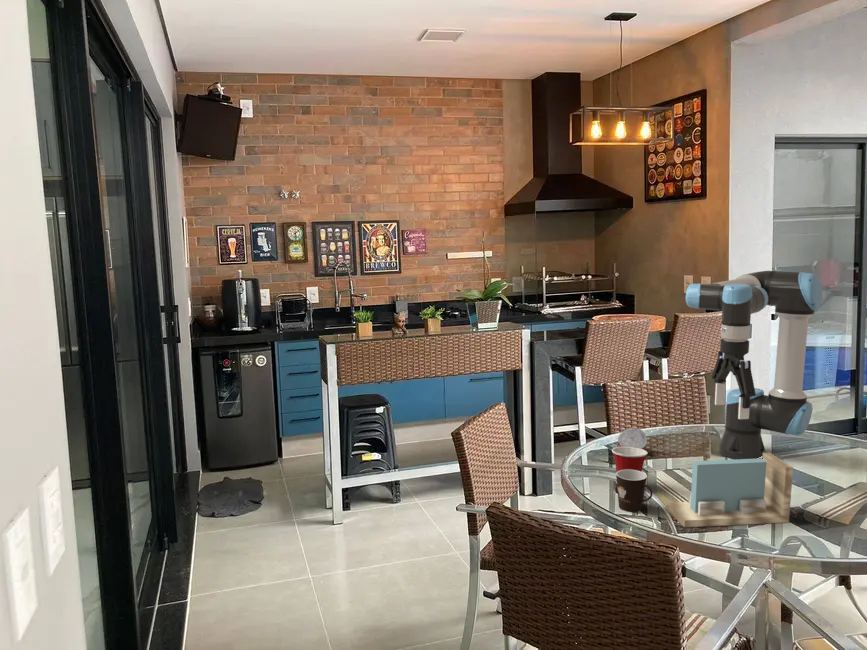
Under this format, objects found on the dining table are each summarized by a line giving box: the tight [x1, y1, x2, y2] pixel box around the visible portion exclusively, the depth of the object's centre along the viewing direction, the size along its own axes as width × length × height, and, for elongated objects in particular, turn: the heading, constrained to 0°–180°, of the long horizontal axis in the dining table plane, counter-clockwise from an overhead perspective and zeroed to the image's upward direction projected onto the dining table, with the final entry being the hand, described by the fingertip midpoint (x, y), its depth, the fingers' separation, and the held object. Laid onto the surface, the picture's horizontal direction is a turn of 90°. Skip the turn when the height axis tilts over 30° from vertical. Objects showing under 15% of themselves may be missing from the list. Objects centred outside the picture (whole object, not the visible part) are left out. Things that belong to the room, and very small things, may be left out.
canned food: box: [616, 427, 648, 451], centre depth 262 cm, size 11×10×10 cm
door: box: [690, 458, 767, 513], centre depth 208 cm, size 20×3×14 cm, turn 95°
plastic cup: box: [611, 446, 648, 474], centre depth 231 cm, size 11×11×12 cm
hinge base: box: [666, 452, 794, 528], centre depth 208 cm, size 30×12×16 cm, turn 95°
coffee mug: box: [615, 469, 653, 513], centre depth 214 cm, size 12×9×10 cm
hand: (731, 411), depth 213 cm, fingers open, 13 cm apart
